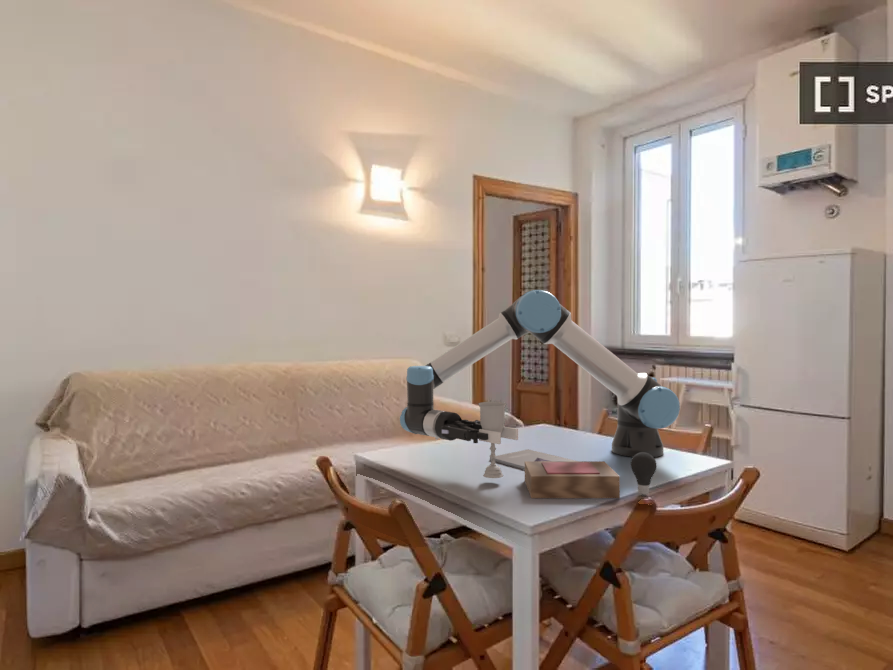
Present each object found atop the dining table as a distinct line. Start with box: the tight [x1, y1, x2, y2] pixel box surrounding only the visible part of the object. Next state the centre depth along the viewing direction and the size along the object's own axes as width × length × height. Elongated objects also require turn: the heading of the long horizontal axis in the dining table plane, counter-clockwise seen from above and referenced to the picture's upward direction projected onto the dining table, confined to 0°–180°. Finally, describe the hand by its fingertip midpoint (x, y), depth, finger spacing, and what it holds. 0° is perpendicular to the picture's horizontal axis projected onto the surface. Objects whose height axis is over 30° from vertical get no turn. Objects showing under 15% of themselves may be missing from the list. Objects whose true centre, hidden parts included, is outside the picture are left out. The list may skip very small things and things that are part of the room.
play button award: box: [489, 449, 576, 471], centre depth 161 cm, size 16×2×20 cm
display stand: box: [524, 460, 621, 499], centre depth 134 cm, size 20×14×5 cm
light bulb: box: [630, 452, 658, 497], centre depth 129 cm, size 6×6×10 cm
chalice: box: [478, 401, 507, 479], centre depth 140 cm, size 7×7×18 cm
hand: (508, 436), depth 136 cm, fingers closed on chalice, 6 cm apart
